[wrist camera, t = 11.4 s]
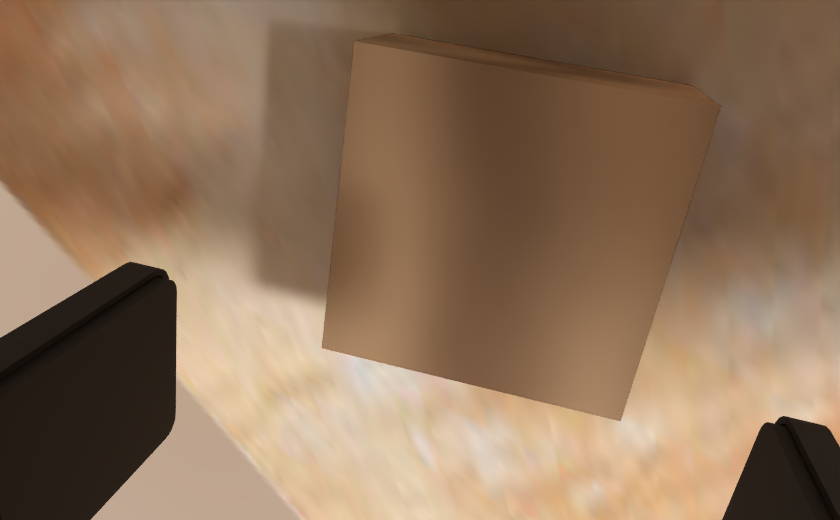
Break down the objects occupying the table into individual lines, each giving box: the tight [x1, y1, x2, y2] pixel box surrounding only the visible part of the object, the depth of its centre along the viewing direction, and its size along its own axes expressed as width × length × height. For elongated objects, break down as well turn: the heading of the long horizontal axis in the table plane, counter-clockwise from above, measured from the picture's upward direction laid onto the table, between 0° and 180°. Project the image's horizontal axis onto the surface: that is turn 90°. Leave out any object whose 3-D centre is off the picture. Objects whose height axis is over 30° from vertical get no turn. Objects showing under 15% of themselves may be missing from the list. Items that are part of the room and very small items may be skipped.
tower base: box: [322, 33, 721, 421], centre depth 20 cm, size 9×9×4 cm
